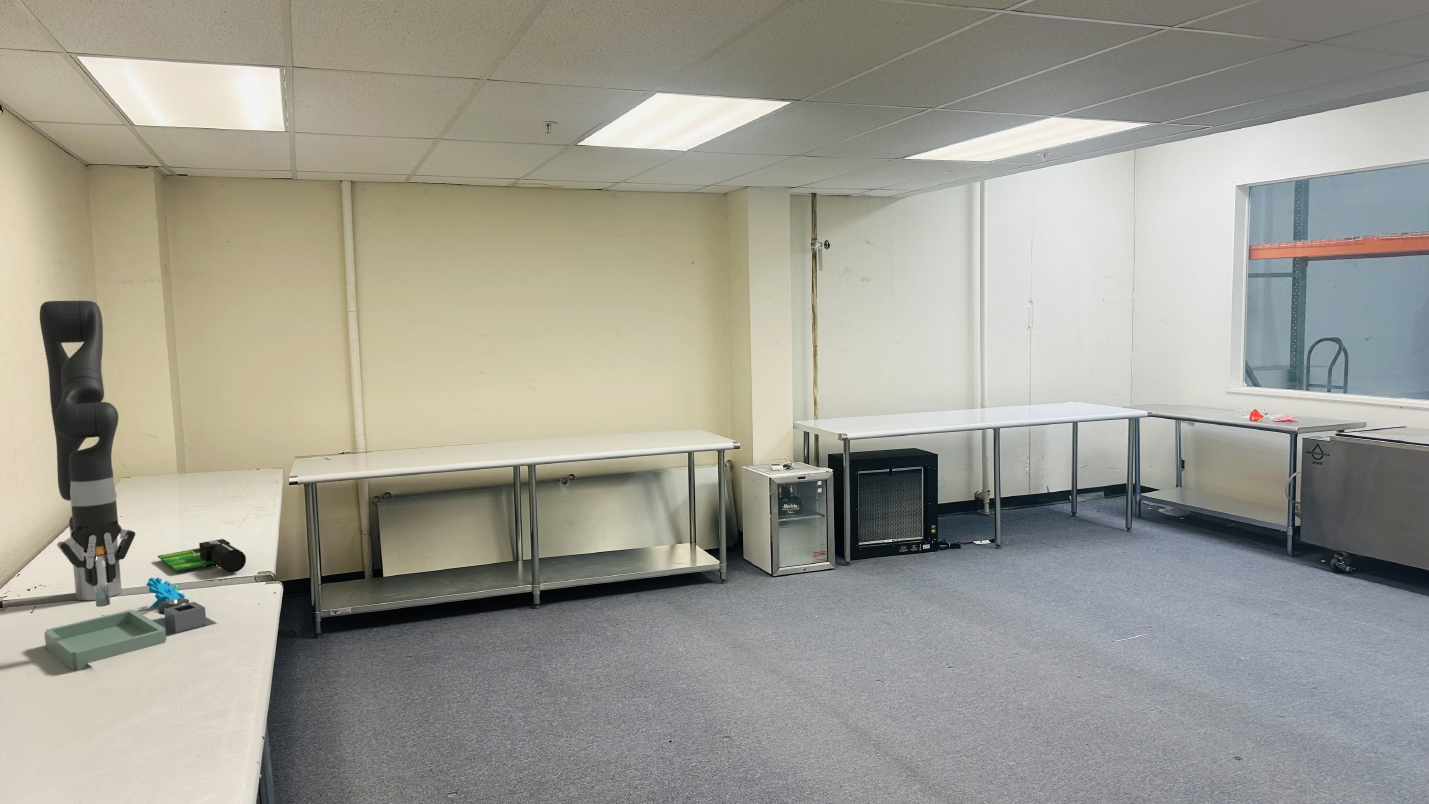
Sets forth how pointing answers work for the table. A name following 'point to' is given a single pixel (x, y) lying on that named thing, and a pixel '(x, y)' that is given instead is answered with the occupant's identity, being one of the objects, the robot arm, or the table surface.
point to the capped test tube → (101, 577)
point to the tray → (103, 638)
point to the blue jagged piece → (163, 590)
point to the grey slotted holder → (182, 616)
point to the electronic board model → (207, 557)
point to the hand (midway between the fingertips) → (101, 583)
